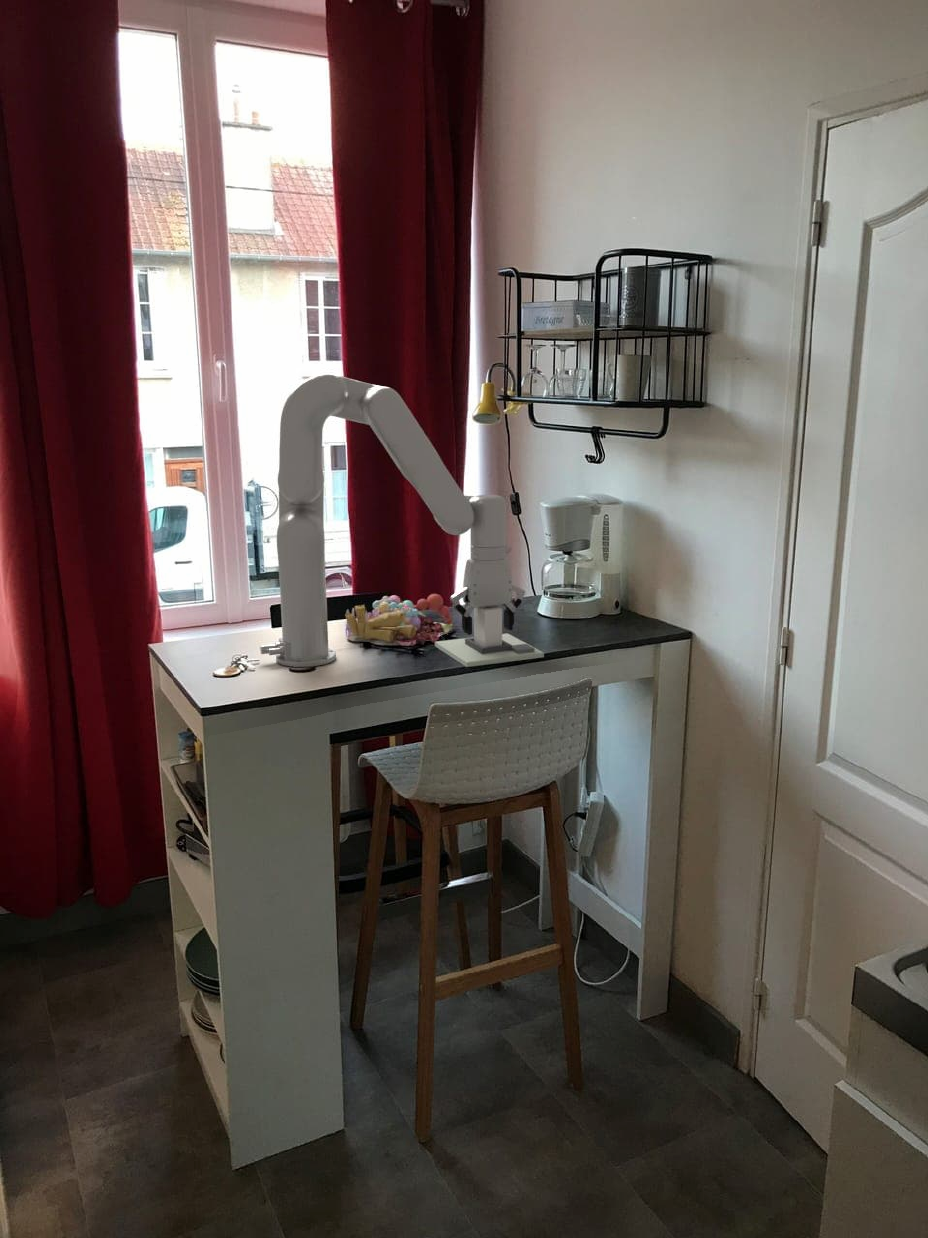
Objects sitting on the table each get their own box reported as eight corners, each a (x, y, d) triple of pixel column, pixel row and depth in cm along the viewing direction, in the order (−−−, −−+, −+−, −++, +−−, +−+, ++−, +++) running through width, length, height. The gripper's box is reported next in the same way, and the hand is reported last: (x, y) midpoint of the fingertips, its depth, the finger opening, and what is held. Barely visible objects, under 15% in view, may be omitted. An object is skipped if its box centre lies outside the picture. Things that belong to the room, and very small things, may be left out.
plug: (474, 644, 214) (473, 596, 212) (490, 642, 216) (490, 594, 213) (485, 651, 209) (485, 601, 206) (502, 649, 210) (502, 599, 208)
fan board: (466, 667, 201) (466, 656, 201) (434, 646, 217) (434, 636, 217) (543, 657, 208) (544, 647, 207) (507, 637, 224) (507, 628, 224)
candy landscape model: (431, 652, 214) (430, 611, 211) (330, 646, 219) (329, 606, 217) (459, 625, 237) (459, 588, 235) (368, 620, 243) (367, 584, 241)
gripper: (516, 548, 214) (516, 623, 218) (444, 553, 208) (444, 631, 212) (532, 553, 207) (531, 631, 211) (457, 559, 201) (458, 639, 205)
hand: (488, 631), depth 212 cm, fingers open, 9 cm apart
